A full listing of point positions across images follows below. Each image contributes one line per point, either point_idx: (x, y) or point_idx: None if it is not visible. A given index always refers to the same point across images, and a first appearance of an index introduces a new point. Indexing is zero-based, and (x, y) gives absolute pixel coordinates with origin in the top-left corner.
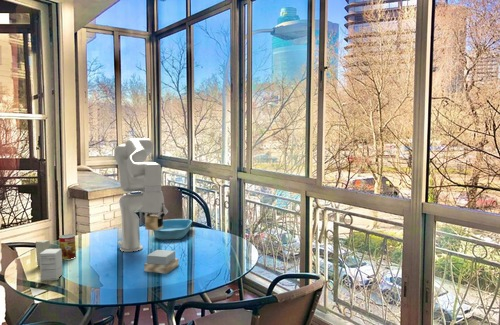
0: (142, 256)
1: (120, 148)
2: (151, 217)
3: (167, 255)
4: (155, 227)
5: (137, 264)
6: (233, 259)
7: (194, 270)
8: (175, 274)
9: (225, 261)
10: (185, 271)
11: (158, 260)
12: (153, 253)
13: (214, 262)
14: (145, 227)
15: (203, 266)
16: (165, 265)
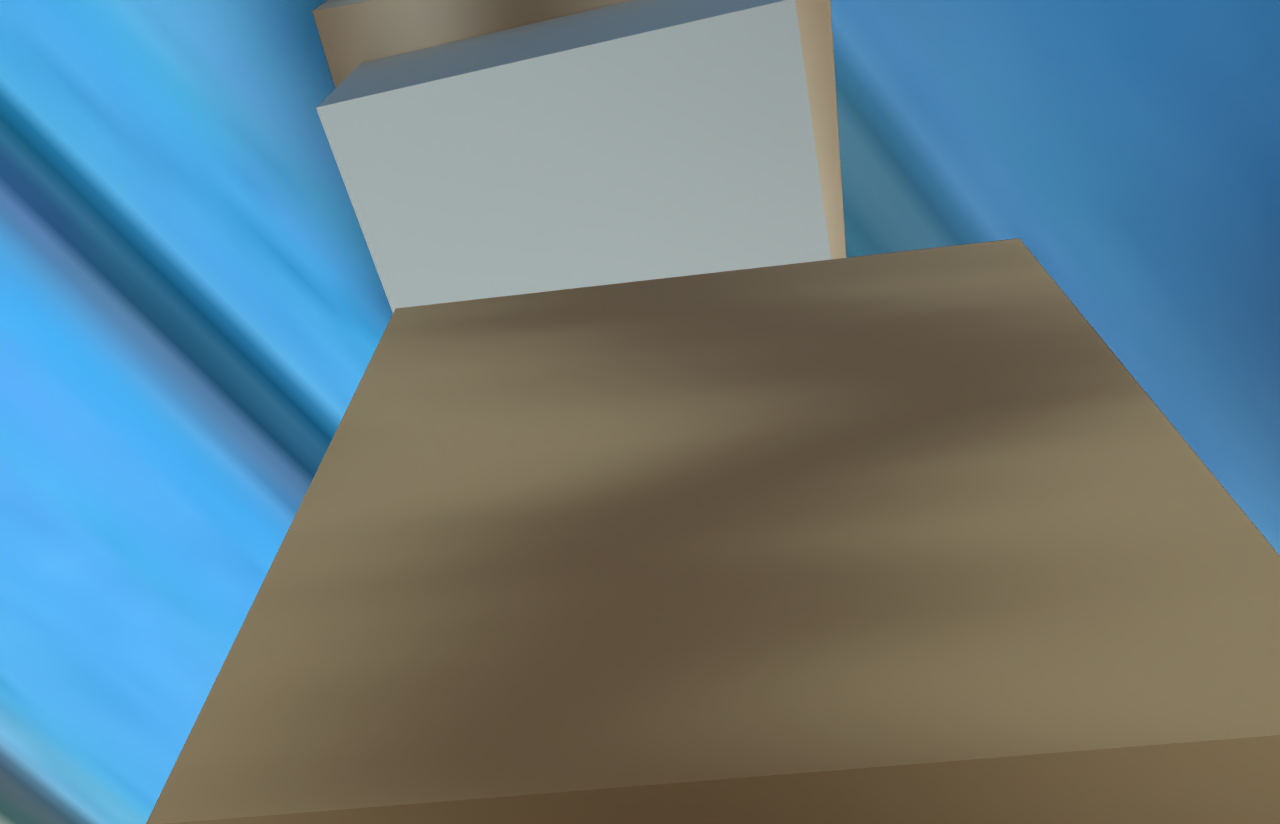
0: (1269, 479)
1: None
2: (627, 787)
3: (366, 202)
4: (398, 367)
5: (1143, 146)
6: (16, 800)
7: (79, 303)
8: (179, 18)
9: (35, 722)
10: (158, 210)
11: (513, 44)
12: (751, 188)
13: (120, 651)
14: (1036, 275)
15: (113, 484)
16: (361, 41)
